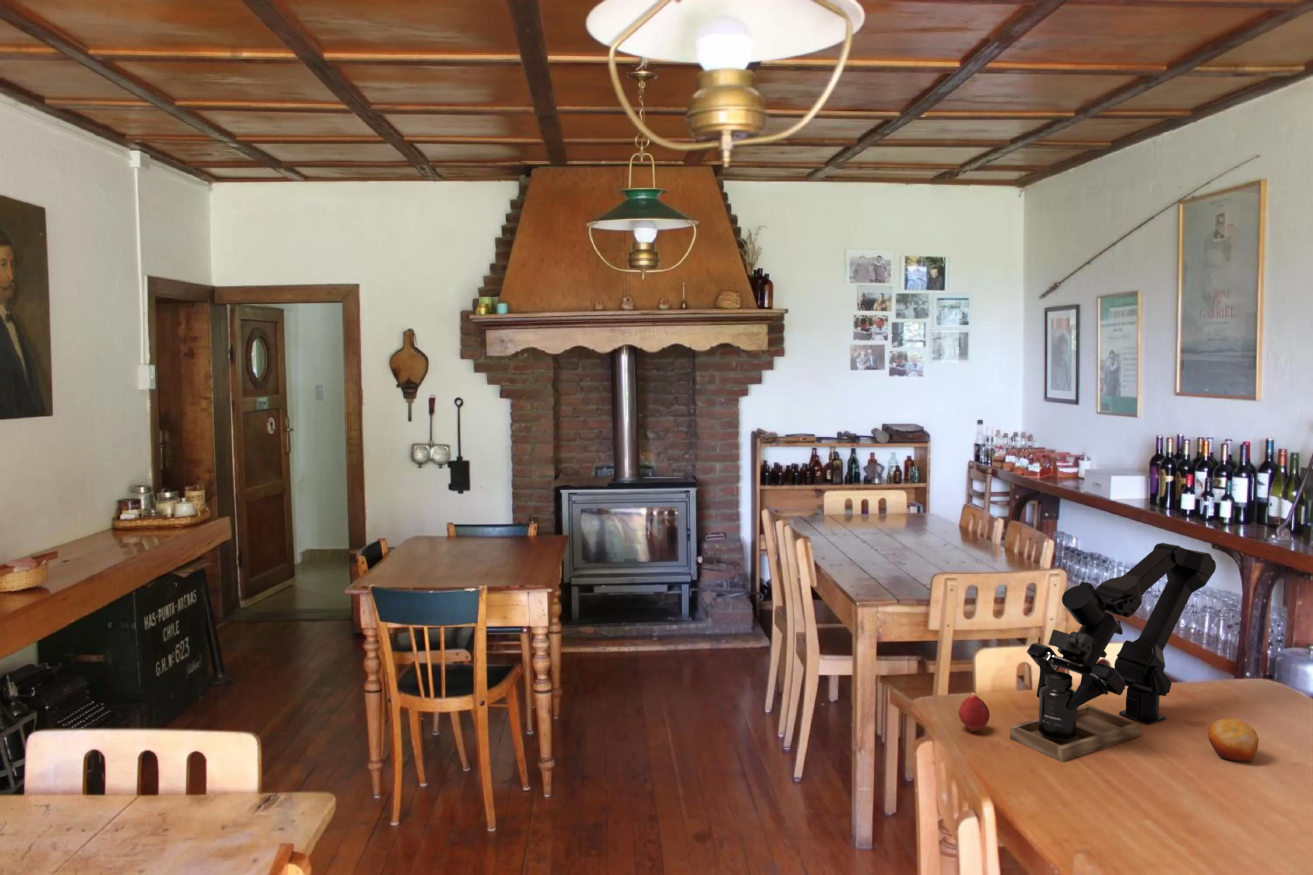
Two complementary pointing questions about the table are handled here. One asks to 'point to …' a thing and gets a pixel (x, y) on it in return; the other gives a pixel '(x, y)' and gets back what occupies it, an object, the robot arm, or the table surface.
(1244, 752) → the fruit
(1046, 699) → the supplement bottle
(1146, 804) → the table surface
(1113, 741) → the holder
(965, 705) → the onion
